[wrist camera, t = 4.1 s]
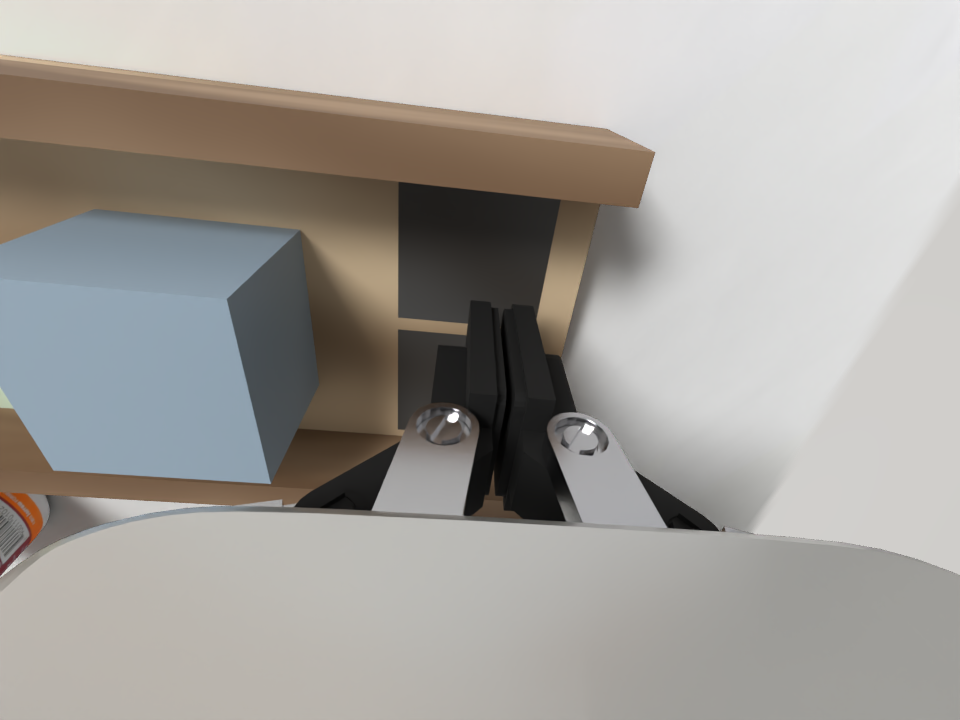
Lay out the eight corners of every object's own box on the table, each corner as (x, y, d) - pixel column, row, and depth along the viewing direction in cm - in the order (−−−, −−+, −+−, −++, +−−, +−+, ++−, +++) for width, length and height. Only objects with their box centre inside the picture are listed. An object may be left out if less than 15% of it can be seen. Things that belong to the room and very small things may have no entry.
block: (319, 384, 14) (271, 484, 11) (155, 371, 14) (53, 470, 10) (300, 229, 11) (226, 298, 8) (94, 209, 11) (-74, 272, 8)
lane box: (530, 445, 17) (542, 523, 14) (-143, 397, 15) (-287, 475, 12) (607, 128, 11) (655, 152, 8) (-501, -7, 9) (-950, -40, 6)
